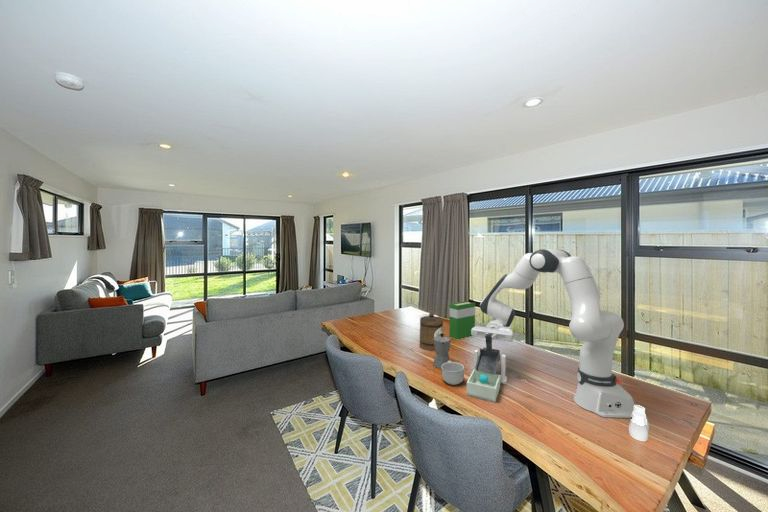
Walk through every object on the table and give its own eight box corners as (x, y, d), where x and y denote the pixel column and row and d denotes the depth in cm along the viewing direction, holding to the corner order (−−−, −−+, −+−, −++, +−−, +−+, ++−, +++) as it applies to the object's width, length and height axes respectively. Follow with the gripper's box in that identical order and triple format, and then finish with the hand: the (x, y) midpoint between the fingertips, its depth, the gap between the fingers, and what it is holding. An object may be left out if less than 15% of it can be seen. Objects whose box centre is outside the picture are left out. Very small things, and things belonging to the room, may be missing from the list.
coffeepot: (452, 371, 154) (452, 337, 153) (434, 370, 155) (434, 337, 154) (448, 359, 170) (448, 328, 169) (432, 358, 171) (432, 328, 170)
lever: (502, 356, 150) (501, 329, 145) (497, 382, 136) (495, 353, 130) (481, 353, 155) (480, 326, 149) (474, 377, 140) (472, 349, 135)
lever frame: (507, 378, 146) (507, 354, 145) (505, 384, 141) (506, 358, 140) (474, 371, 153) (474, 348, 153) (471, 376, 148) (472, 352, 148)
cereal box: (466, 332, 218) (467, 300, 216) (474, 335, 211) (475, 302, 210) (449, 337, 208) (449, 303, 207) (457, 340, 202) (457, 305, 201)
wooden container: (441, 351, 181) (441, 316, 180) (417, 349, 186) (417, 315, 185) (444, 343, 195) (444, 311, 194) (422, 341, 200) (422, 309, 199)
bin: (500, 387, 137) (500, 375, 137) (495, 402, 125) (495, 388, 124) (473, 381, 143) (473, 369, 143) (466, 395, 131) (466, 382, 130)
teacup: (464, 388, 137) (464, 371, 136) (441, 386, 139) (441, 369, 138) (462, 374, 150) (462, 359, 150) (441, 373, 152) (441, 358, 152)
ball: (488, 379, 135) (487, 372, 133) (489, 386, 131) (488, 379, 130) (478, 379, 136) (478, 372, 134) (479, 385, 132) (479, 378, 131)
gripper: (474, 322, 161) (468, 329, 149) (514, 327, 151) (511, 335, 139) (473, 333, 161) (467, 341, 149) (514, 339, 151) (511, 348, 139)
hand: (489, 338), depth 144 cm, fingers closed, pressing on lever
